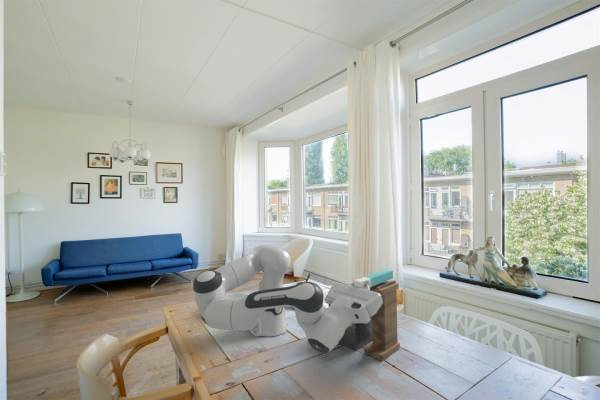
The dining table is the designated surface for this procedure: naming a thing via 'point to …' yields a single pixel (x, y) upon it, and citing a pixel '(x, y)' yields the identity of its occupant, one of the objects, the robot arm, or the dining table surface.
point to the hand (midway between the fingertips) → (364, 281)
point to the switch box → (357, 335)
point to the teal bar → (374, 279)
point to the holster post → (384, 322)
